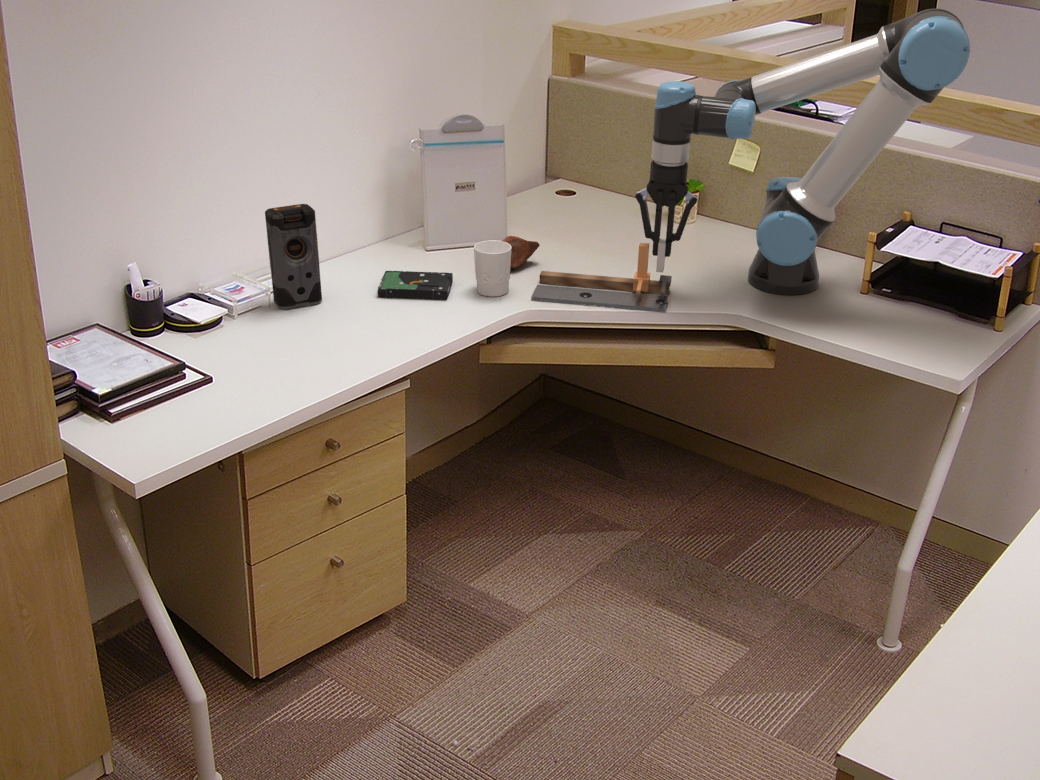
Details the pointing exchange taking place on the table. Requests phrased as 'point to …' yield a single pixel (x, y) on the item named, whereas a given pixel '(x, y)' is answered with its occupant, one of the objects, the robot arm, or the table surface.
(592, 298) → the metal board
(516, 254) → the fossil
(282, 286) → the electronic device
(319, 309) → the table surface
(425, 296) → the disk drive
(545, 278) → the beam
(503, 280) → the white cup
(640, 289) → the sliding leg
